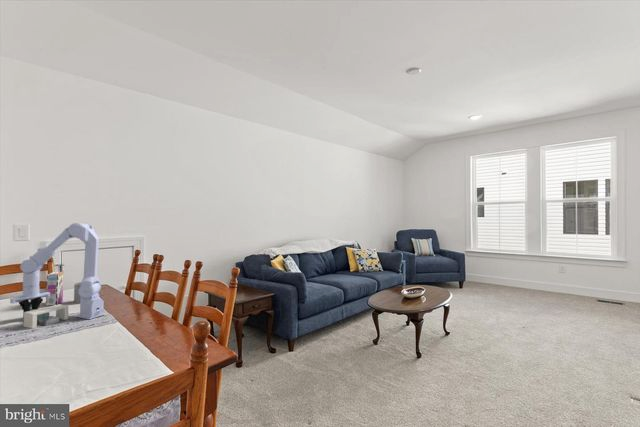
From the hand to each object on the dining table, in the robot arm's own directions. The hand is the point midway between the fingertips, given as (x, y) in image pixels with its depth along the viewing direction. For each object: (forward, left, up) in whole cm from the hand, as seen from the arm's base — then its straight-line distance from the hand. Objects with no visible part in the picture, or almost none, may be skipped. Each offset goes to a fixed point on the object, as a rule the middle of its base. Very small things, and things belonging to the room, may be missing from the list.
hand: (30, 315), depth 152 cm
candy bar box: (+18, -20, -2) cm, 27 cm away
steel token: (-14, +1, -2) cm, 14 cm away
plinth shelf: (-12, +1, -1) cm, 12 cm away
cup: (+9, -29, -2) cm, 31 cm away
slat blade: (-4, 0, -1) cm, 4 cm away
